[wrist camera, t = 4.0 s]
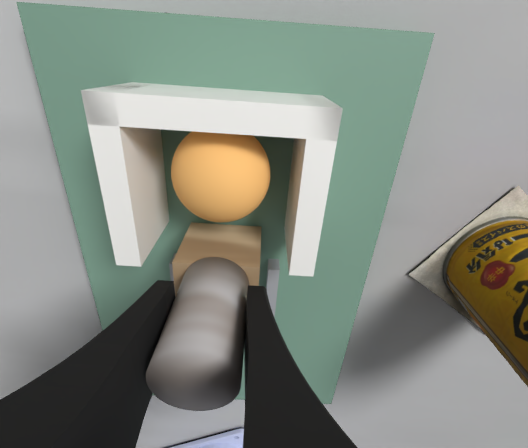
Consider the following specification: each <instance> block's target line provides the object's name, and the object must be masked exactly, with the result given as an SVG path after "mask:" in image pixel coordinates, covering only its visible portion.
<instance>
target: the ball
mask: <svg viewBox="0 0 528 448" xmlns="http://www.w3.org/2000/svg"><path fill="white" fill-rule="evenodd" d="M171 178H172V183H173V187H174V190H175V192H176V194H177V196H178V198H179V199H180V201H181V202H182V204H183V205H184V206H185V207H186V208H187V209H188V210H189V211H191V212H192V213H193V214H195V215H196V216H198V217H200V218H202V219H205V220H208V221H212V222H231V221H236V220H239V219H241V218H243V217H245V216H247V215H249V214H250V213H251V212H253V211H254V210H255V209H256V208H257V207H258V206H259V205H260V203H261V202H262V200H263V199H264V197H265V195H266V193H267V191H268V187H269V183H270V165H269V160H268V157H267V155H266V152H265V150H264V148H263V147H262V145H261V144H260V142H259V141H258V140H257V139H256V138H255V137H254V136H253V135H239V134H224V133H209V132H194V131H192V132H190V133H189V134H188V135H187V136H186V137H185V138H184V139H183V140H182V141H181V142H180V144H179V145H178V147H177V149H176V151H175V153H174V156H173V160H172V165H171Z"/></svg>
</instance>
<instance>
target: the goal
mask: <svg viewBox="0 0 528 448" xmlns="http://www.w3.org/2000/svg"><path fill="white" fill-rule="evenodd" d="M81 94H82V99H83V104H84V109H85V114H86V119H87V124H88V129H89V134H90V139H91V143H92V148H93V153H94V158H95V163H96V168H97V173H98V178H99V183H100V188H101V193H102V197H103V202H104V207H105V212H106V217H107V222H108V227H109V232H110V237H111V242H112V247H113V251H114V256H115V261H116V265H122V266H139V267H141V266H142V265H143V263H144V261H145V260H146V258H147V256H148V255H149V253H150V252H151V250H152V248H153V247H154V245H155V243H156V242H157V240H158V239H159V237H160V235H161V234H162V232H163V230H164V229H165V227H166V226H167V224H168V222H169V211H168V201H167V190H166V179H165V169H164V158H163V148H162V137H161V129H164V130H179V131H194V132H209V133H224V134H239V135H254V136H269V137H284V138H294V143H293V152H292V161H291V170H290V180H289V189H288V198H287V207H286V217H285V226H284V230H285V240H286V250H287V260H288V271H289V275H295V276H312V277H313V275H314V270H315V264H316V258H317V253H318V247H319V241H320V236H321V230H322V224H323V218H324V213H325V207H326V201H327V196H328V190H329V184H330V178H331V173H332V167H333V161H334V156H335V150H336V144H337V139H338V133H339V127H340V121H341V116H342V110H343V108H341V107H340V106H338V105H337V104H335V103H333V102H332V101H330V100H329V99H327V98H325V97H324V96H322V95H308V94H294V93H280V92H265V91H251V90H237V89H223V88H208V87H194V86H180V85H165V84H151V83H137V82H131V83H124V84H118V85H111V86H105V87H98V88H92V89H85V90H81Z"/></svg>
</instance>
